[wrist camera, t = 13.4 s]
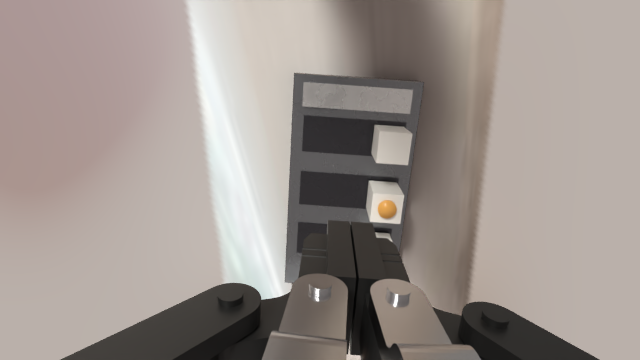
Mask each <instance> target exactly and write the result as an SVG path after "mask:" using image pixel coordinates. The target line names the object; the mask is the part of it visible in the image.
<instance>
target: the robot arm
mask: <svg viewBox="0 0 640 360" xmlns="http://www.w3.org/2000/svg"><path fill="white" fill-rule="evenodd" d="M349 341H350V355H361V360H599V359H597V358H595V357H594V356H592V355H590V354H588V353H586V352H584V351H583V350H581V349H579V348H577V347H575V346H574V345H572V344H570V343H568V342H566V341H564V340H563V339H561V338H559V337H557V336H555V335H554V334H552V333H550V332H548V331H546V330H544V329H543V328H541V327H539V326H537V325H535V324H534V323H532V322H530V321H528V320H526V319H525V318H522V317H521V316H519V315H517V314H515V313H514V312H512V311H510V310H508V309H506V308H504V307H502V306H499V305H496V304H492V303H487V302H472V303H469V304H467V305H466V306H465V307H464V308H463V311H462V316H459V315H456V314H452V313H448V312H445V311H441V310H438V309H436V308H433V307H432V306H431V304H430V302H429V301H428V299H427V297H426V295H425V294H424V292H423V291H422V290H421V289H420V288H418V287H417V286H415V285H413V284H411V283H410V281H409V278H408V275H407V273H406V270H405V267H404V265H403V263H402V259H401V257H400V254H399V251H398V249H397V246H396V245H395V244H394V243H392V242H391V241H390V240H389V239H388V238H376V234H375V230H374V227H373V223H365V222H350V223H349V221H336V220H328V223H327V234H320V233H311V234H310V235H308V236H307V237H306V238H305V239H304V243H303V250H302V256H301V263H300V270H299V276H298V279H297V280H296V281H295V282H294V283H293V285H292V289H291V292H289V293H288V294H286V295H283V296H281V297H277V298H272V299H265V300H261V296H260V294H259V292H258V291H257V290H256V289H255V288H253V287H251V286H249V285H246V284H241V283H227V284H222V285H219V286H216V287H213V288H211V289H209V290H207V291H205V292H202V293H200V294H198V295H196V296H194V297H192V298H190V299H188V300H186V301H183V302H181V303H179V304H177V305H175V306H173V307H171V308H169V309H167V310H164V311H162V312H160V313H158V314H156V315H154V316H152V317H150V318H148V319H146V320H144V321H141V322H139V323H137V324H135V325H133V326H131V327H129V328H126V329H124V330H122V331H120V332H118V333H116V334H114V335H112V336H110V337H107V338H106V339H103V340H101V341H99V342H97V343H95V344H93V345H91V346H88V347H86V348H85V349H82V350H80V351H78V352H76V353H74V354H72V355H70V356H67V357H65V358H63V359H61V360H346V354H348V349H349Z"/></svg>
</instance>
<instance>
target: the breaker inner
mask: <svg viewBox="0 0 640 360" xmlns="http://www.w3.org/2000/svg"><path fill="white" fill-rule="evenodd" d="M411 141H412V133H411V132H410V131H409V130H407V129H406V128H405V127H402V126H388V125H374V133H373V142H372V151H371V153H372V156H373V158H374V160H375V162H376V163H383V164H397V165H408V162H409V155H410V148H411Z"/></svg>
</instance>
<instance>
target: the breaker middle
mask: <svg viewBox="0 0 640 360" xmlns="http://www.w3.org/2000/svg"><path fill="white" fill-rule="evenodd" d="M403 201H404V194H403V192H402V191H401V189H400V187H399V185H398V184H397V182H384V181H370V180H369V183H368V192H367V201H366V209H367V213H368V217H369V220H370V222H379V223H393V224H400V222H401V215H402V208H403Z"/></svg>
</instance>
